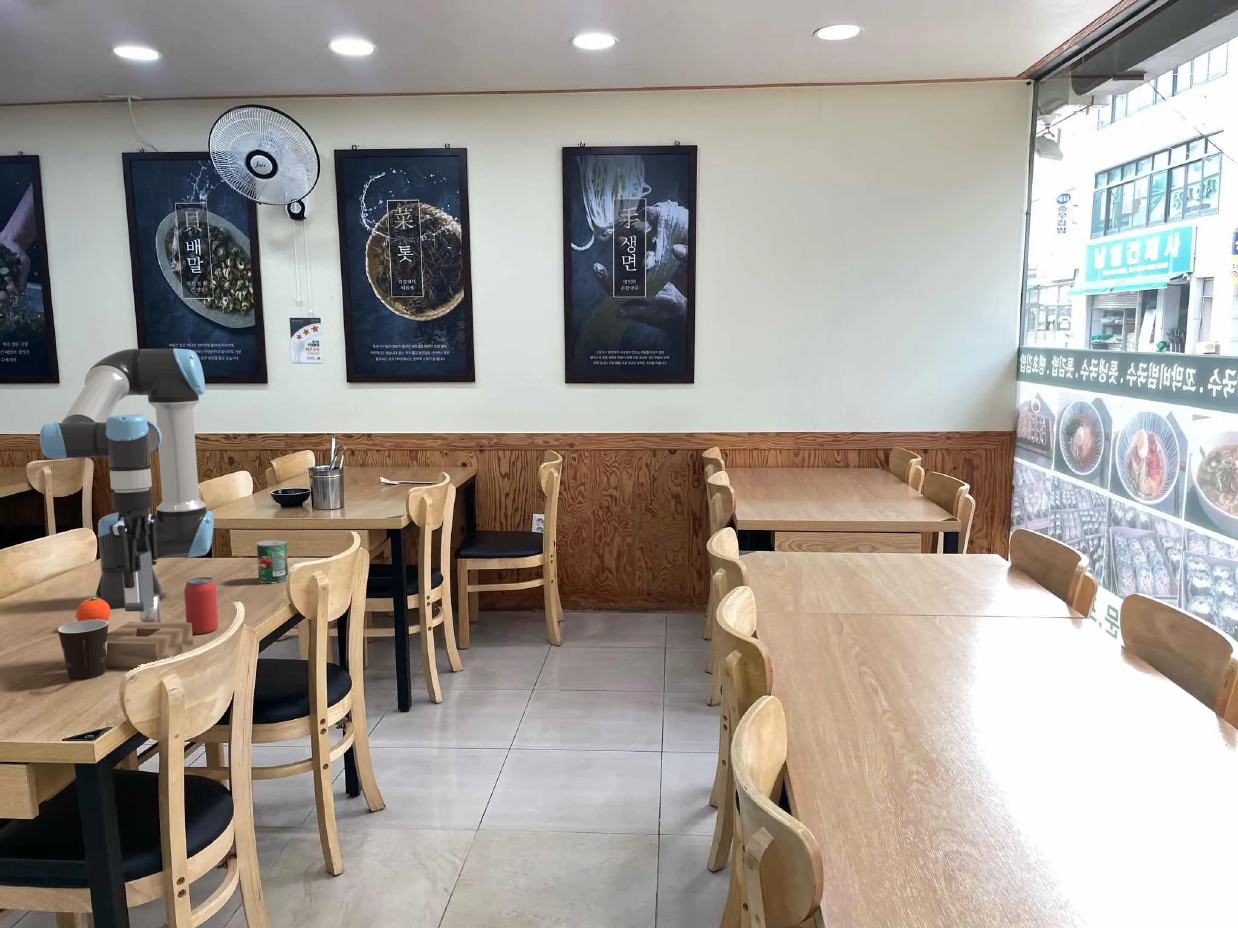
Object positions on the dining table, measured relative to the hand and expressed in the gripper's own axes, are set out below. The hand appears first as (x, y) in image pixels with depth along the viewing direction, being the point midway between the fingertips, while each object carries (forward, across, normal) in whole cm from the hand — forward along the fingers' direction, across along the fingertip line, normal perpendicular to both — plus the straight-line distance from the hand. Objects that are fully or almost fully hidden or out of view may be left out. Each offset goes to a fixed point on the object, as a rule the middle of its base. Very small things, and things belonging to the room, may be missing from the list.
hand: (139, 598), depth 188 cm
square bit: (+2, 0, 0) cm, 2 cm away
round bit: (+12, -10, -4) cm, 17 cm away
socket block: (+12, 0, 0) cm, 12 cm away
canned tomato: (+12, -62, +1) cm, 63 cm away
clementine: (+13, -19, -23) cm, 33 cm away
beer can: (+13, -17, +4) cm, 22 cm away
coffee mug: (+13, +13, -5) cm, 19 cm away
